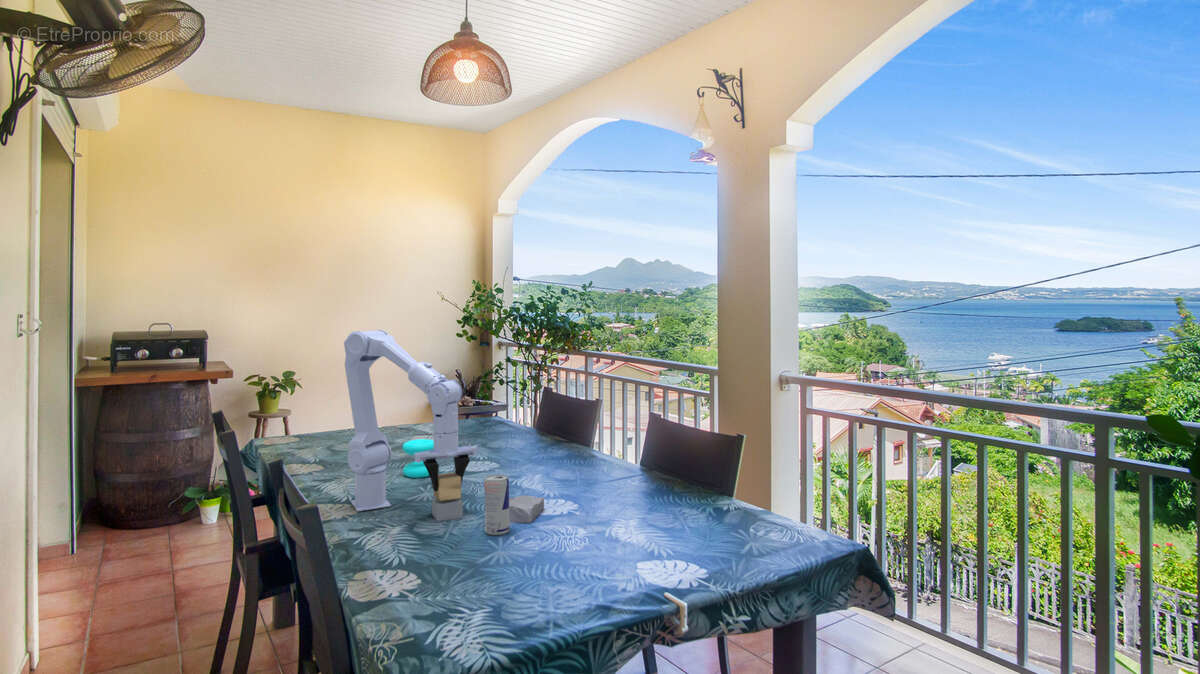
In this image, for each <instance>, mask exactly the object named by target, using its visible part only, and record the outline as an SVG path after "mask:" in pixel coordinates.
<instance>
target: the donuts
mask: <svg viewBox="0 0 1200 674" xmlns="http://www.w3.org/2000/svg"><path fill="white" fill-rule="evenodd" d="M429 450H434V439H428V438H425V439H424V438H422V439H421V438H419V439H412V440H408V441H406V442H404V443H403V444H402V451H403V452H404V453H406V454H407V455H409V456H414V453H419V452H424V451H429ZM402 472H403V475H404V476H406V477H408V478H414V479H418V478H428V477H430V476H429V473H428V471H427V469H426V467H425V465H424V463H423V461H421V462H419V463H417V462H415V461H412V462H411V461H410V462H409V463H407V464H406V465H404V467H403V469H402Z"/></svg>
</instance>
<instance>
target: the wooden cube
mask: <svg viewBox="0 0 1200 674" xmlns="http://www.w3.org/2000/svg"><path fill="white" fill-rule="evenodd" d="M433 496H434V498H437V499H438V500H440V501H443V500H450V499H457V498H460V499H462V483H461V477H460V476H459V475H457V474H456V473H455V471H453V472H447V473H438V491H434V490H433Z"/></svg>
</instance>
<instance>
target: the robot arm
mask: <svg viewBox="0 0 1200 674" xmlns="http://www.w3.org/2000/svg"><path fill="white" fill-rule="evenodd" d="M343 347H344V352H345V361H344V368H345V369H344V370H345V376H346V383H347V389H348V396H349V402H350V408H351V414H352V415H351V416H352V420H353V426H354V433H355V435H353V437H352V439H351V440H350V441H349V442H348V444H347V447H348V454H347V464H348V467H349V468H350V469H351V470H352V473H353V474H354V499H352V500H350V503H351V505H352V506H353V507H355V508H354V509H355V510H356V512H363V511H364V510H365V511H369V510H376V509H383V508H389V507H391V503H390V502H389V501H388V500H387V485H386V483H387V482H386V479H387V477H386V469H387V468H388V464H389V463H390V462H391V460H392V457H393V452H392V451H393V450H392V448H391V446H390V445H389V442H388V439H387V436H386V435H385V433H383V432H382V431H380V430H379V425H378V419H377V412H376V405H375V399H374V393H373V387H372V382H371V375H370V368H371V367H372V365H373V364H374V363H375V362H376V361H378V360H379V359H380V358H382V357H384V358H386V359H387V360H389V361H390V362H392V363H393V364H394V365H395V366H397V367H399V368H400V369H402V370H403V371H405V372H406V373H407V376H408V377H407V378H408V380H409V381H410V383H412V384H413V385H414V386H415V387H417V389H419V390H421V391H422V392H423V393H424V394H425V395H426V397H427V400H428V403H429V405H431V412H432V417H433V418H432V420H433V421H432V423H433V424H432V426H433V429H432V430H433V434H432V435H433V440H434V450H429V451H424V452H419V453H414V455H413V456H414V462H417V463H419V462H421V461H423V463H424V465H425V467H426V469H427V471H428V473H429V476H428V477H429V478H430V481H431V486H432V490H433V492H434V491H438V474H439V467H440V464H439V463H438V461H437V460H443V459H451V458H453V461H454V473H456V474H457V475H459V476H460V477H461V484H462V483H463V477H464V475H465V472H466V469H467V467H468V465H469V464H470V461H471V460H470V457H469V456H473V457H474V456H477V455H478V451H477V450H478V448H477V446H475V445H473V446H472V445H471V446H469V445H468V446H459V412H458V411H459V409H458V408H459V407H458V406H459V405H458V403H459V402H460V401H461V399H462V398H463V388H462V385H460V383H458V381H457V380H456V379H447V376H445V375H444V374H441V373H439V371H438V370H436V369H434V368H433V364H432V363H431V362H425V361H419V362H418V361H417V360H416V359H415V358H413V356H411V355H410V354H409V353H408V352H407V351H406V350H405V349H404V348H403V347H402V346H400V344H398V343H397V342H396V341H395V337H394V336H393V335H391V334H389V333H388V332H387V331H386V330H383V329H377V330H363V331H360V330H355V331H352V332H350V333H349V335H347V338H346V339H345V340H344V342H343Z"/></svg>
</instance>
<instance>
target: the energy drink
mask: <svg viewBox="0 0 1200 674" xmlns="http://www.w3.org/2000/svg"><path fill="white" fill-rule="evenodd" d="M484 478H485V479H484V482H483V483H484V490H483V491H484V493H483V494H484V532H485V533H486V534H487V535H488V536H489V535H490V536H501V535H502V536H503V535H505V534H507V533H509V531H510V524H511V523H510V521H509V499H510V480H509V476H508V475H505V474H492V475H488V476H486V477H484Z"/></svg>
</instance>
